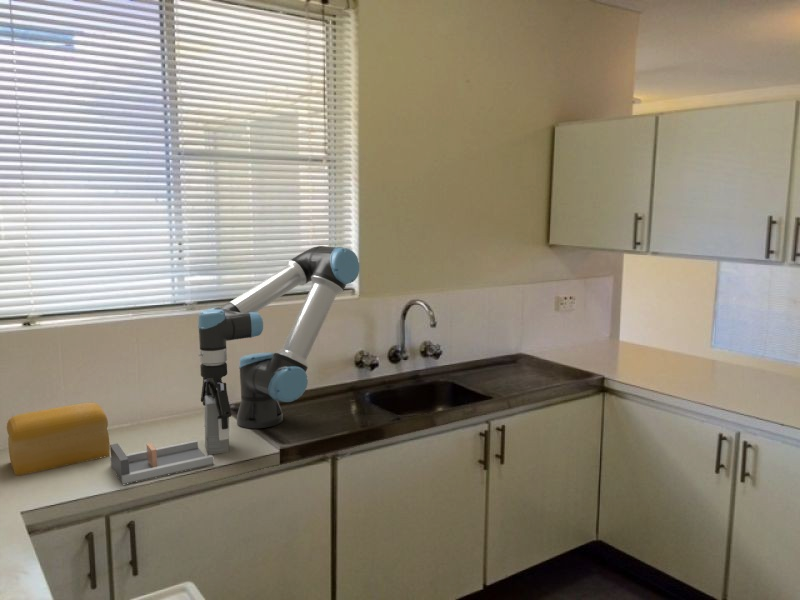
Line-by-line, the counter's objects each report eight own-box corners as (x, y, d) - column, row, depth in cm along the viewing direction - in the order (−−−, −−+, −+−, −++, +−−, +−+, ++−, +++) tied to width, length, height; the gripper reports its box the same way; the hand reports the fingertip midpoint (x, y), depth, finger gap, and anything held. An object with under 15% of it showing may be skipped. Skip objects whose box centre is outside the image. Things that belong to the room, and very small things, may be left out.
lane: (196, 447, 200) (195, 427, 199) (213, 464, 187) (212, 442, 186) (111, 465, 187) (109, 443, 186) (123, 485, 174) (121, 461, 173)
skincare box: (204, 446, 202) (201, 395, 199) (228, 443, 204) (226, 392, 202) (207, 455, 194) (204, 403, 192) (232, 452, 196) (229, 400, 194)
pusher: (152, 460, 188) (150, 443, 188) (157, 466, 183) (156, 449, 183) (147, 460, 188) (146, 443, 187) (152, 467, 183) (151, 450, 182)
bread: (100, 443, 205) (97, 396, 203) (111, 456, 195) (107, 406, 193) (9, 462, 191) (4, 411, 189) (15, 477, 181) (10, 423, 178)
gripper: (188, 356, 203) (191, 423, 206) (214, 373, 183) (217, 447, 186) (212, 353, 207) (215, 419, 210) (241, 369, 187) (243, 442, 190)
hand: (216, 432), depth 198 cm, fingers open, 13 cm apart
